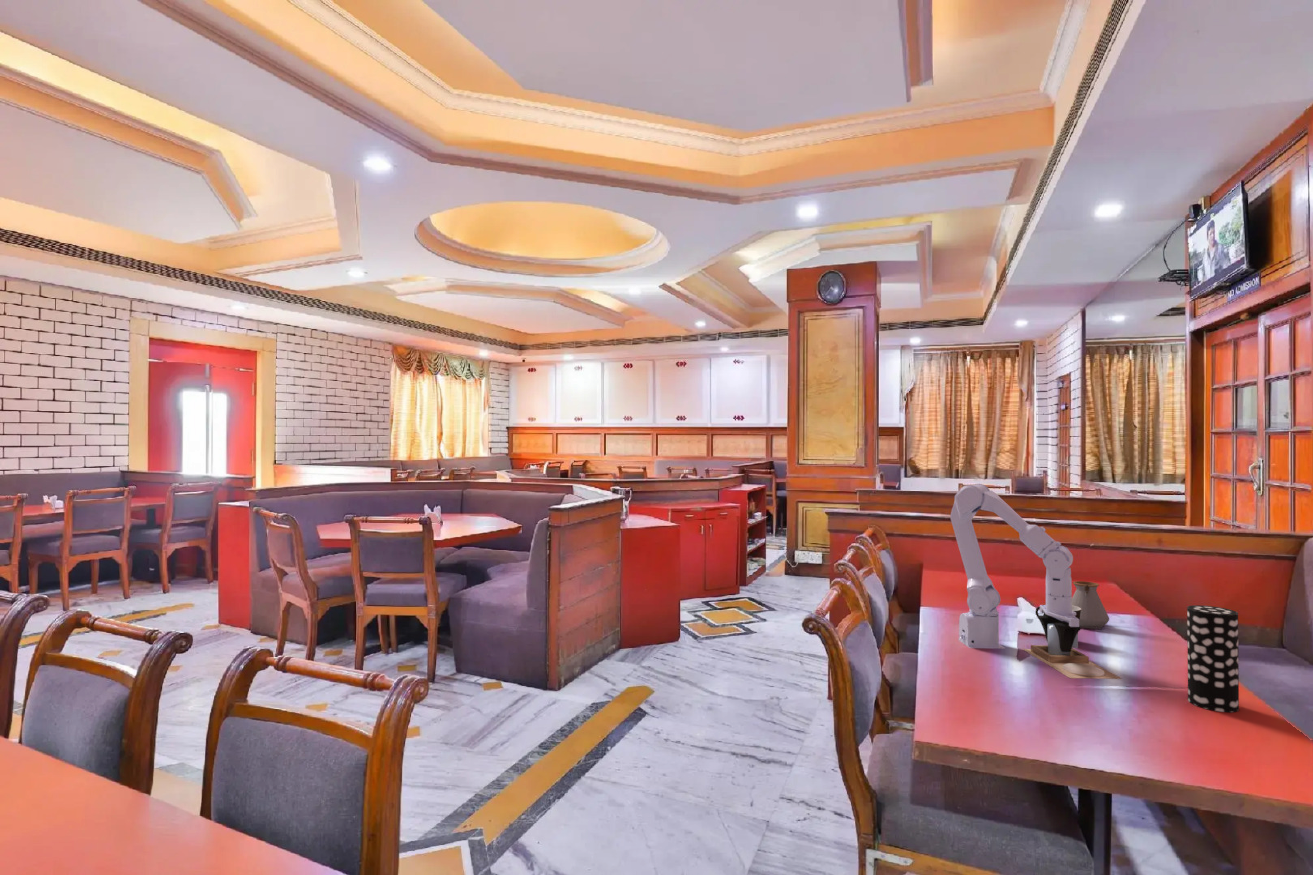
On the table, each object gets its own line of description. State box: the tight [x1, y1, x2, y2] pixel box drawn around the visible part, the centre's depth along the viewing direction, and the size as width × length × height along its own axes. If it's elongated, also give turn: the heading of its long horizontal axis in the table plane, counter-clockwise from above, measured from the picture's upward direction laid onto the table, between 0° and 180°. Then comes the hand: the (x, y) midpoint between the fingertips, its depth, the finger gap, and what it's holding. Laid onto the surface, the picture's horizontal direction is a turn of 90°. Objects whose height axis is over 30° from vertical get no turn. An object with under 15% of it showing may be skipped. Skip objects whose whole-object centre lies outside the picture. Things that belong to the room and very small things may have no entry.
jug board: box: [1022, 644, 1123, 680], centre depth 167 cm, size 12×22×2 cm, turn 178°
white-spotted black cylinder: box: [1186, 604, 1240, 713], centre depth 142 cm, size 8×8×20 cm
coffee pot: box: [1072, 580, 1110, 630], centre depth 199 cm, size 21×12×15 cm, turn 148°
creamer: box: [1047, 623, 1079, 655], centre depth 171 cm, size 7×5×8 cm
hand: (1058, 647), depth 171 cm, fingers open, 6 cm apart
